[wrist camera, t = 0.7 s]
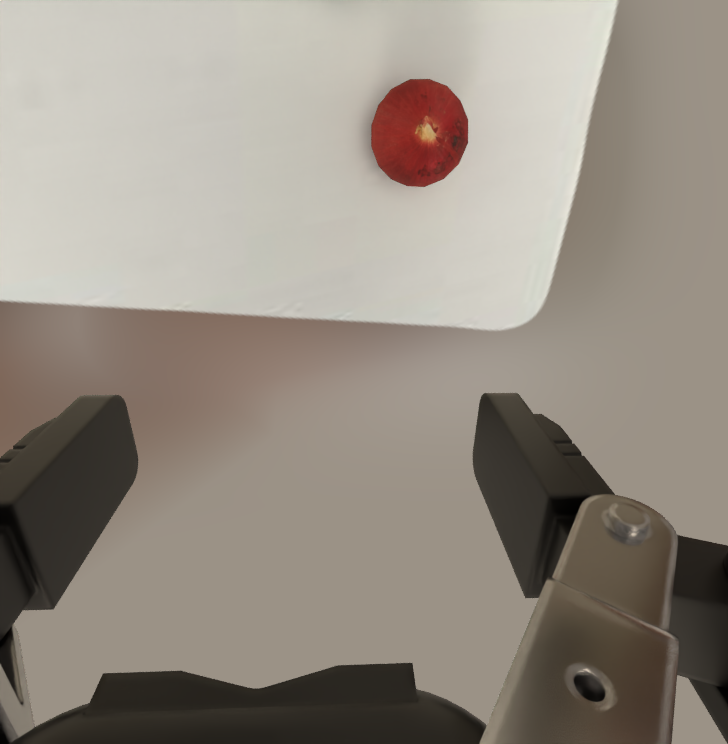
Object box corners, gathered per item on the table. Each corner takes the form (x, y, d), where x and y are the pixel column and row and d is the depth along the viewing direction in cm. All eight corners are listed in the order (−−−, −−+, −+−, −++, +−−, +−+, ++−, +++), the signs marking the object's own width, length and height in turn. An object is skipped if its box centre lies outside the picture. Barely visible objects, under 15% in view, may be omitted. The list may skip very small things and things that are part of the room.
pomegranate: (467, 109, 31) (506, 95, 24) (432, 195, 33) (457, 207, 26) (387, 72, 30) (401, 46, 23) (356, 164, 32) (360, 167, 25)
